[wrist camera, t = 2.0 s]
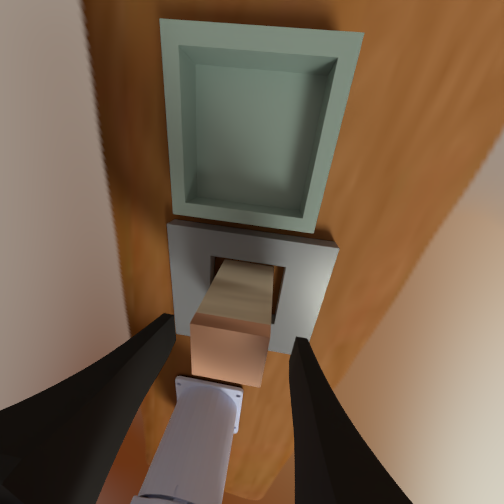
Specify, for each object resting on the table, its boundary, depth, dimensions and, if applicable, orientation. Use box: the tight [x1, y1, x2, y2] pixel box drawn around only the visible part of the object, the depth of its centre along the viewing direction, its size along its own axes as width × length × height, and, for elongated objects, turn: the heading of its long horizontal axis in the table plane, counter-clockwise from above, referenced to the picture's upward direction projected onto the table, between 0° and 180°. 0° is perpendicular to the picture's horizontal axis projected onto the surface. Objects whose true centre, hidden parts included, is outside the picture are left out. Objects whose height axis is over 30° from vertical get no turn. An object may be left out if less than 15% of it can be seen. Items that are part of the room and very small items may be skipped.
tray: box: [159, 18, 364, 233], centre depth 11 cm, size 9×9×2 cm
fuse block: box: [190, 259, 274, 387], centre depth 14 cm, size 4×4×7 cm
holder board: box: [167, 219, 340, 354], centre depth 17 cm, size 11×12×1 cm
